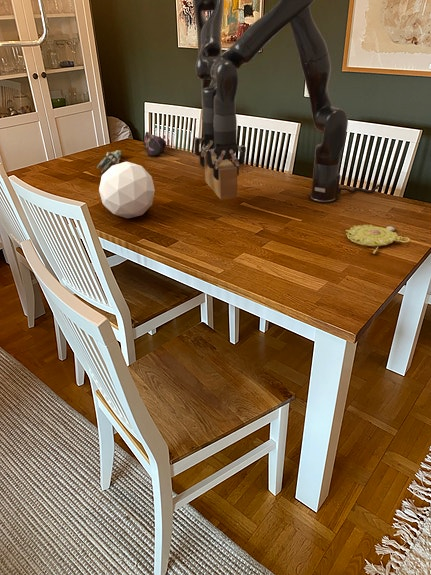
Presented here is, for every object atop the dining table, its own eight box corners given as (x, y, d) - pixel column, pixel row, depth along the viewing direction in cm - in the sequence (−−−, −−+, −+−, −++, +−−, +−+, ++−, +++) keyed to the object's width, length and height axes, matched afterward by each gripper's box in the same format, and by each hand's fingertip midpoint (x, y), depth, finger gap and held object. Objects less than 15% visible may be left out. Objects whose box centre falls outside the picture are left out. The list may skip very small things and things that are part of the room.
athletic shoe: (152, 146, 217) (175, 145, 222) (140, 122, 229) (162, 121, 233) (150, 166, 226) (172, 164, 230) (139, 141, 238) (160, 140, 242)
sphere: (119, 231, 167) (91, 184, 164) (165, 204, 169) (137, 158, 167) (116, 226, 148) (83, 173, 146) (167, 196, 150) (136, 144, 148)
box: (205, 181, 170) (203, 153, 164) (220, 179, 171) (219, 151, 166) (220, 199, 154) (219, 170, 148) (237, 197, 155) (237, 167, 149)
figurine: (101, 154, 197) (119, 141, 223) (91, 167, 200) (110, 152, 227) (114, 165, 199) (130, 151, 225) (103, 178, 203) (121, 162, 229)
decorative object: (355, 216, 152) (417, 225, 142) (354, 223, 153) (416, 232, 143) (334, 239, 137) (402, 251, 127) (334, 247, 138) (401, 259, 128)
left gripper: (196, 123, 151) (198, 170, 160) (235, 119, 155) (235, 165, 163) (190, 119, 157) (193, 164, 166) (228, 115, 161) (229, 159, 170)
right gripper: (207, 132, 139) (209, 184, 149) (249, 128, 143) (249, 178, 152) (200, 127, 146) (203, 177, 155) (242, 123, 149) (242, 172, 158)
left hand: (214, 164), depth 165 cm, fingers open, 8 cm apart
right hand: (226, 177), depth 153 cm, fingers closed on box, 6 cm apart
